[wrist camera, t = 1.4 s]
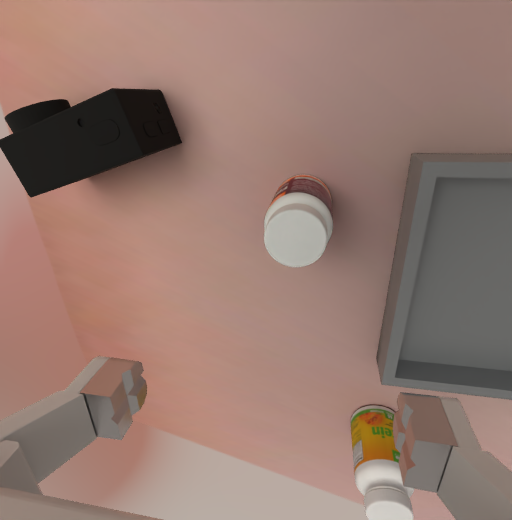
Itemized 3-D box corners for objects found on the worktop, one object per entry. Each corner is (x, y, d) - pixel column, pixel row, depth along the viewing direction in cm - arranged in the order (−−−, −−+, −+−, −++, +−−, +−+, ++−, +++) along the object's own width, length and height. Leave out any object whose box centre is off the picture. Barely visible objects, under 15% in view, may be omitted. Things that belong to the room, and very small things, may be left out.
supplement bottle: (409, 412, 37) (434, 510, 28) (388, 442, 39) (406, 540, 31) (360, 397, 37) (370, 489, 28) (343, 428, 39) (348, 521, 31)
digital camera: (156, 72, 26) (104, 65, 20) (183, 142, 28) (144, 155, 22) (55, 117, 30) (-16, 124, 23) (87, 177, 31) (28, 198, 25)
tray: (411, 153, 26) (423, 161, 22) (665, 154, 23) (718, 164, 20) (376, 358, 34) (381, 384, 31) (556, 377, 31) (581, 407, 28)
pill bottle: (281, 167, 28) (265, 194, 20) (338, 180, 27) (343, 213, 20) (270, 221, 30) (251, 263, 23) (322, 233, 30) (321, 280, 22)
